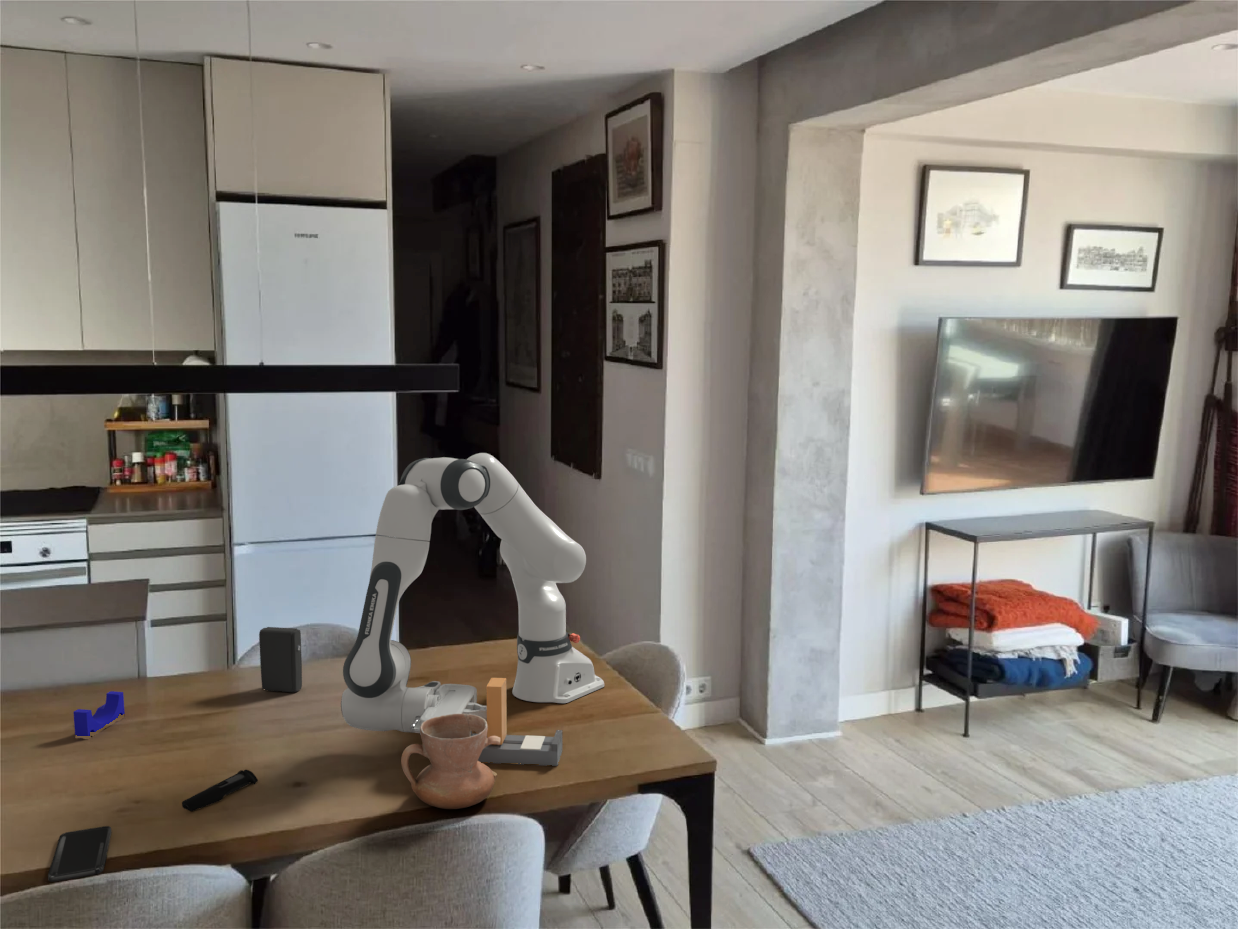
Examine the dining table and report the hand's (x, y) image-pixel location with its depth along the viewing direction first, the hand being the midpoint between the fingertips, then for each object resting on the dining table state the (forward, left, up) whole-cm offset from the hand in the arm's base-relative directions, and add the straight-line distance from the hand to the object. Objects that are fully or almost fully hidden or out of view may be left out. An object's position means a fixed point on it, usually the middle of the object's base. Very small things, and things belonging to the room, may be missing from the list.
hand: (489, 713), depth 203 cm
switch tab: (-1, +1, -6) cm, 6 cm away
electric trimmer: (+48, -16, -10) cm, 51 cm away
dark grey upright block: (+18, -62, -9) cm, 65 cm away
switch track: (-3, +3, -9) cm, 10 cm away
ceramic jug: (+16, +11, -9) cm, 21 cm away
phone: (+73, -10, -10) cm, 74 cm away
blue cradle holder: (+57, -65, -9) cm, 87 cm away
